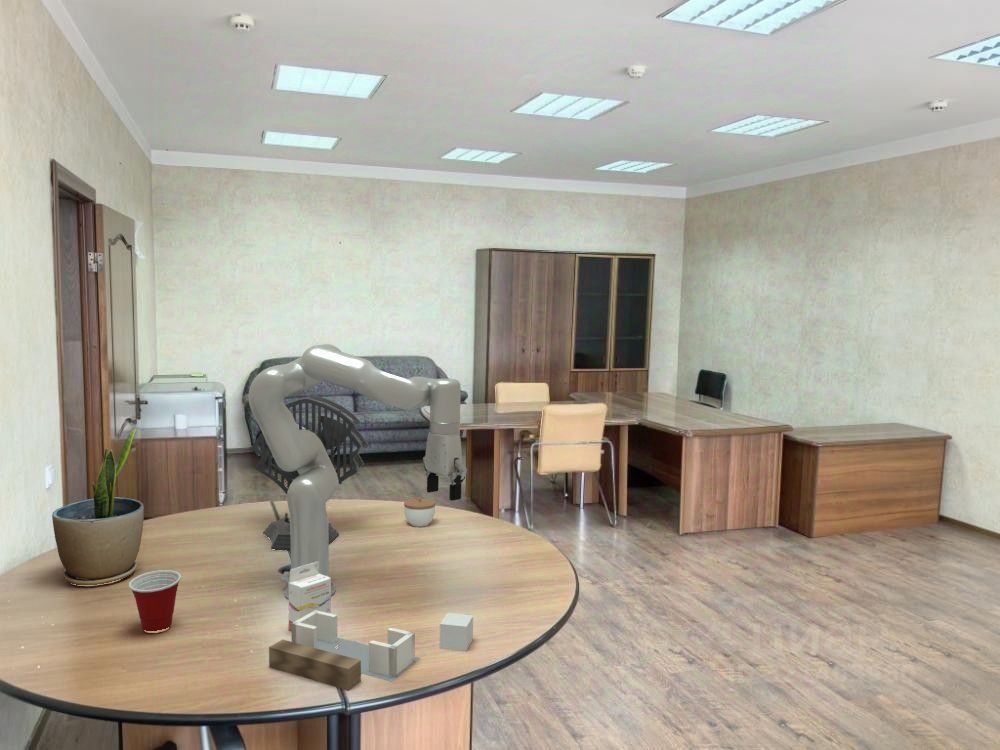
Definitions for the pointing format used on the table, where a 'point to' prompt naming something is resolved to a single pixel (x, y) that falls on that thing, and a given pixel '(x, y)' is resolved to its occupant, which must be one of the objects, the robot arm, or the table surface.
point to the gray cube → (456, 632)
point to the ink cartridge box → (308, 592)
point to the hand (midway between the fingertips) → (443, 495)
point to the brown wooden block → (315, 664)
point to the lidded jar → (419, 511)
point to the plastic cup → (155, 598)
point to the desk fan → (330, 437)
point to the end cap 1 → (314, 629)
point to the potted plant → (100, 529)
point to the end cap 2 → (392, 653)
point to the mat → (356, 655)
